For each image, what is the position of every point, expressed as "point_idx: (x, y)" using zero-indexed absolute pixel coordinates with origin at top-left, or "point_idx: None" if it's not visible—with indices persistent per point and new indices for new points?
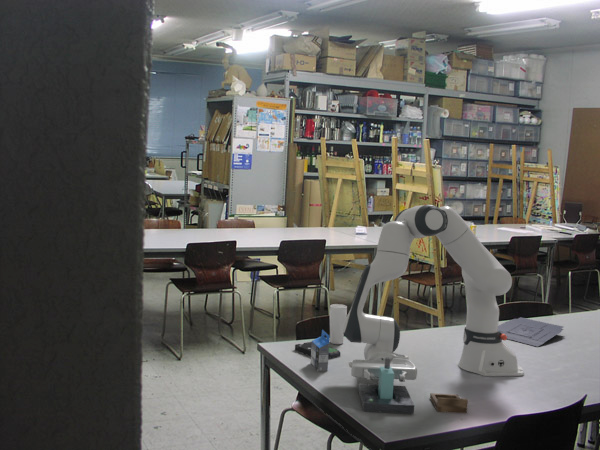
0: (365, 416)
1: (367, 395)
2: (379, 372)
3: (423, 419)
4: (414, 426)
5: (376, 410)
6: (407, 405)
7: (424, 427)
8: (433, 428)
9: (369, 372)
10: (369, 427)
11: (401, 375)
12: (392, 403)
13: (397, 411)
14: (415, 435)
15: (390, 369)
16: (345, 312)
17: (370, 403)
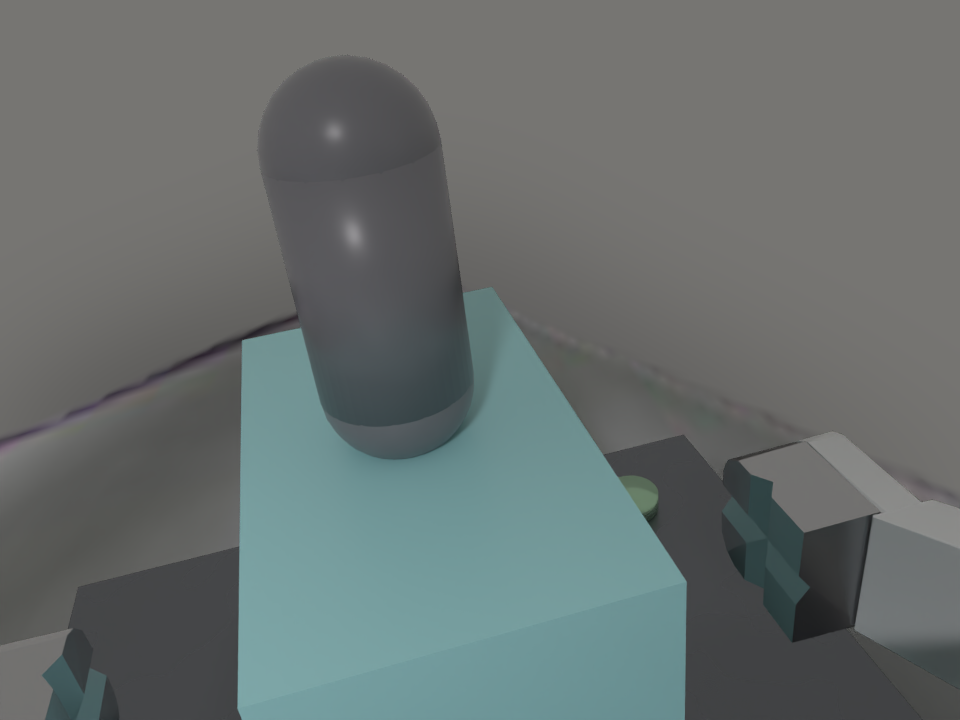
0: (624, 443)
1: (755, 642)
2: (673, 704)
3: (55, 583)
4: (196, 447)
5: None
6: (171, 564)
7: (114, 460)
8: (40, 471)
9: (902, 527)
10: (539, 336)
11: (5, 682)
12: None
13: None
14: (225, 360)
15: (298, 498)
16: None
17: (614, 453)
